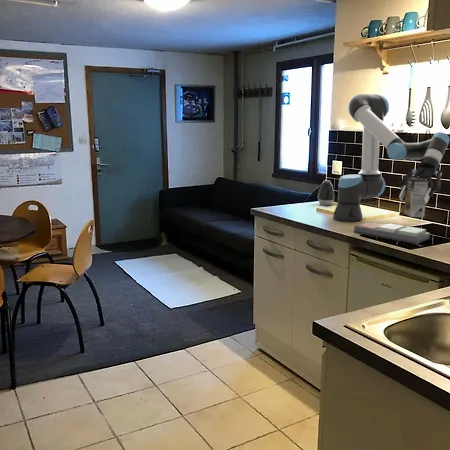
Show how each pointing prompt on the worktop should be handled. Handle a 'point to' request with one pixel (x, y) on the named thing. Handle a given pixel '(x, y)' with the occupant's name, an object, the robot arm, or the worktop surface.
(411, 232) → the key sage
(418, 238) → the keypad
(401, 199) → the robot arm
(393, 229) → the key grey
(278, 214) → the worktop surface
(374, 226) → the key terracotta
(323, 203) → the dark grey egg shape
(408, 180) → the coffee box
